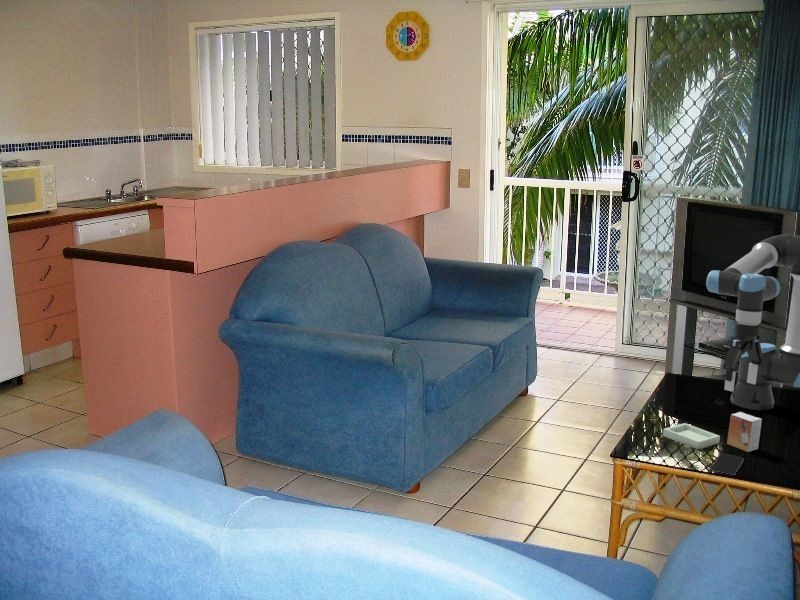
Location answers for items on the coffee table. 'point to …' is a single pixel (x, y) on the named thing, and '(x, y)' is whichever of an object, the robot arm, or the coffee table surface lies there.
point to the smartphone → (727, 464)
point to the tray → (691, 436)
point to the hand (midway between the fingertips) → (740, 386)
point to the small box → (744, 431)
